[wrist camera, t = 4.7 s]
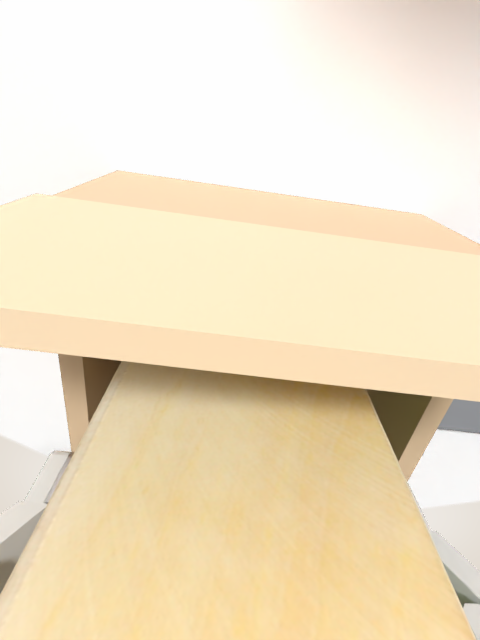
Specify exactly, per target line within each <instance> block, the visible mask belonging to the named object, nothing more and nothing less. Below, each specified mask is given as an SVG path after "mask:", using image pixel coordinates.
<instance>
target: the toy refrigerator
mask: <svg viewBox="0 0 480 640" xmlns="http://www.w3.org/2000/svg"><path fill="white" fill-rule="evenodd" d="M0 640H477V639H476V637H475V635H474V633H473V630H472V628H471V626H470V624H469V621H468V619H467V617H466V614H465V612H464V610H463V608H462V605H461V603H460V601H459V599H458V596H457V594H456V592H455V590H454V588H453V585H452V583H451V581H450V579H449V577H448V574H447V572H446V570H445V568H444V565H443V563H442V560H441V558H440V555H439V553H438V551H437V548H436V546H435V543H434V541H433V539H432V537H431V534H430V532H429V530H428V528H427V526H426V524H425V521H424V519H423V517H422V515H421V513H420V510H419V508H418V506H417V504H416V501H415V499H414V497H413V494H412V492H411V490H410V487H409V485H408V483H407V481H406V479H405V477H404V474H403V472H402V470H401V468H400V465H399V463H398V460H397V458H396V456H395V453H394V451H393V449H392V447H391V444H390V442H389V440H388V438H387V435H386V433H385V431H384V429H383V426H382V424H381V422H380V420H379V417H378V415H377V413H376V411H375V408H374V406H373V404H372V402H371V399H370V397H369V395H368V393H367V390H366V389H363V388H354V387H346V386H337V385H328V384H319V383H311V382H302V381H293V380H284V379H276V378H267V377H258V376H249V375H241V374H232V373H223V372H215V371H206V370H197V369H188V368H180V367H171V366H162V365H153V364H145V363H136V362H127V361H121V363H120V365H119V367H118V369H117V371H116V372H115V374H114V376H113V378H112V380H111V382H110V384H109V386H108V388H107V390H106V392H105V394H104V396H103V398H102V400H101V401H100V403H99V405H98V407H97V409H96V411H95V413H94V415H93V416H92V419H91V421H90V423H89V425H88V427H87V429H86V431H85V433H84V435H83V437H82V439H81V441H80V442H79V444H78V446H77V448H76V450H75V452H74V454H73V456H72V458H71V460H70V462H69V464H68V466H67V468H66V469H65V471H64V473H63V475H62V477H61V479H60V481H59V483H58V485H57V487H56V488H55V490H54V492H53V494H52V496H51V498H50V500H49V502H48V504H47V506H46V508H45V510H44V512H43V514H42V516H41V518H40V519H39V521H38V523H37V525H36V527H35V529H34V531H33V533H32V535H31V537H30V539H29V541H28V542H27V544H26V546H25V548H24V550H23V552H22V554H21V556H20V558H19V560H18V562H17V564H16V565H15V567H14V569H13V571H12V573H11V575H10V577H9V579H8V581H7V582H6V584H5V586H4V588H3V590H2V592H1V594H0Z"/></svg>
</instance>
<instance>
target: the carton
mask: <svg viewBox="0 0 480 640" xmlns="http://www.w3.org/2000/svg"><path fill="white" fill-rule="evenodd" d="M0 347H5V348H14V349H22V350H31V351H40V352H48V353H57V354H58V356H59V364H60V371H61V378H62V385H63V393H64V400H65V407H66V414H67V422H68V429H69V436H70V443H71V451H72V452H75V450H76V448H77V446H78V444H79V442H80V441H81V439H82V437H83V435H84V433H85V431H86V429H87V427H88V425H89V423H90V421H91V419H92V416H93V415H94V413H95V411H96V409H97V407H98V405H99V403H100V401H101V400H102V398H103V396H104V394H105V392H106V390H107V388H108V386H109V384H110V382H111V380H112V378H113V376H114V374H115V372H116V371H117V369H118V367H119V365H120V363H121V361H127V362H136V363H145V364H153V365H162V366H171V367H180V368H188V369H197V370H206V371H215V372H223V373H232V374H241V375H249V376H258V377H267V378H276V379H284V380H293V381H302V382H311V383H319V384H328V385H337V386H346V387H354V388H363V389H366V390H367V393H368V395H369V397H370V399H371V402H372V404H373V406H374V408H375V411H376V413H377V415H378V417H379V420H380V422H381V424H382V426H383V429H384V431H385V433H386V435H387V438H388V440H389V442H390V444H391V447H392V449H393V451H394V453H395V456H396V458H397V460H398V463H399V465H400V468H401V470H402V472H403V474H404V477H405V479H406V481H408V479H409V478H410V476H411V474H412V472H413V471H414V469H415V467H416V465H417V463H418V462H419V460H420V458H421V456H422V455H423V453H424V451H425V449H426V447H427V446H428V444H429V442H430V440H431V439H432V437H433V435H434V433H435V431H436V430H437V428H438V426H439V424H440V423H441V421H442V419H443V417H444V415H445V414H446V412H447V410H448V408H449V407H450V405H451V403H452V401H453V399H459V400H468V401H477V402H480V244H478V243H476V242H474V241H472V240H470V239H468V238H466V237H464V236H462V235H460V234H459V233H457V232H455V231H453V230H451V229H449V228H447V227H445V226H443V225H441V224H439V223H437V222H435V221H433V220H431V219H430V218H428V217H426V216H424V215H421V214H415V213H408V212H401V211H394V210H387V209H380V208H373V207H366V206H359V205H352V204H346V203H339V202H332V201H325V200H318V199H311V198H304V197H297V196H290V195H283V194H277V193H270V192H263V191H256V190H249V189H242V188H235V187H228V186H221V185H214V184H207V183H201V182H194V181H187V180H180V179H173V178H166V177H159V176H152V175H145V174H138V173H132V172H125V171H115V172H112V173H110V174H107V175H104V176H102V177H99V178H97V179H94V180H91V181H89V182H86V183H83V184H81V185H78V186H76V187H73V188H70V189H68V190H65V191H62V192H60V193H57V194H55V195H52V196H51V195H44V194H33V195H30V196H27V197H24V198H21V199H18V200H15V201H12V202H10V203H7V204H4V205H1V206H0Z"/></svg>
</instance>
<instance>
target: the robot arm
mask: <svg viewBox="0 0 480 640" xmlns="http://www.w3.org/2000/svg"><path fill="white" fill-rule="evenodd" d="M73 454H74V452H66V451H55V450H54V451H53V452H52V453H51V454H50V455H49V457H48V459H47V461H46V462H45V464H44V466H43V468H42V469H41V471H40V473H39V475H38V477H37V478H36V480H35V482H34V484H33V486H32V487H31V489H30V491H29V493H28V494H27V496H26V498H25V500H24V501H18V502H16V503H15V504H14V505H12V506H11V507H9V508H8V509H7V510H5V511H4V512H3V513H1V514H0V594H1V592H2V590H3V588H4V586H5V584H6V582H7V581H8V579H9V577H10V575H11V573H12V571H13V569H14V567H15V565H16V564H17V562H18V560H19V558H20V556H21V554H22V552H23V550H24V548H25V546H26V544H27V542H28V541H29V539H30V537H31V535H32V533H33V531H34V529H35V527H36V525H37V523H38V521H39V519H40V518H41V516H42V514H43V512H44V510H45V508H46V506H47V504H48V502H49V500H50V498H51V496H52V494H53V492H54V490H55V488H56V487H57V485H58V483H59V481H60V479H61V477H62V475H63V473H64V471H65V469H66V468H67V466H68V464H69V462H70V460H71V458H72V456H73ZM408 485H409V484H408ZM409 487H410V486H409ZM410 490H411V488H410ZM411 492H412V490H411ZM412 494H413V492H412ZM413 497H414V499H415V501H416V504H417V506H418V508H419V510H420V513H421V515H422V517H423V519H424V521H425V524H426V526H427V528H428V530H429V532H430V534H431V537H432V539H433V541H434V543H435V546H436V548H437V551H438V553H439V555H440V558H441V560H442V563H443V565H444V568H445V570H446V572H447V574H448V577H449V579H450V581H451V583H452V585H453V588H454V590H455V592H456V594H457V596H458V599H459V601H460V603H461V605H462V608H463V610H464V612H465V614H466V617H467V619H468V621H469V624H470V626H471V628H472V630H473V633H474V635H475V637H476V639H477V640H480V571H479V570H478V569H477V568H476V567H475V566H474V565H473V564H472V563H470V562H469V561H468V560H467V559H466V558H465V557H464V556H463V555H462V554H461V553H460V552H458V551H457V550H456V549H455V548H454V547H453V546H452V545H451V544H450V543H449V542H447V541H446V540H445V539H444V538H443V537H442V536H441V535H440V534H439V533H438V532H437V531H432V530H431V529H430V527H429V525H428V523H427V521H426V519H425V516H424V514H423V513H422V510H421V508H420V506H419V504H418V502H417V500H416V498H415V496H414V494H413Z"/></svg>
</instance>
